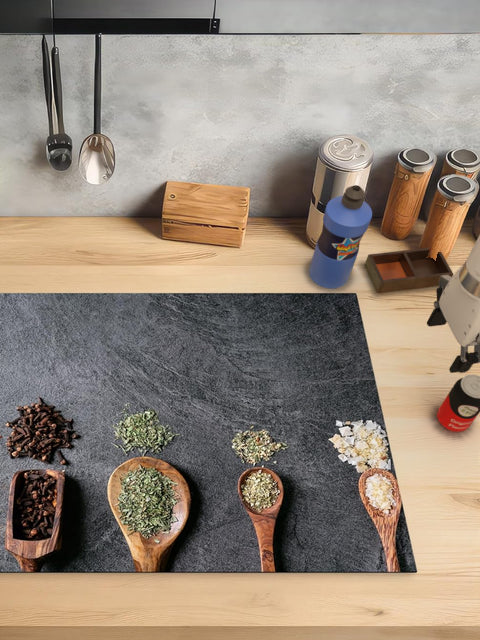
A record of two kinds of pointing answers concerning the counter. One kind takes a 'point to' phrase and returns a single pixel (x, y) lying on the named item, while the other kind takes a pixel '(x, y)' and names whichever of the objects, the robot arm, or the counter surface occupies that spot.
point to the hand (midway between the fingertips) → (446, 346)
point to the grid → (405, 270)
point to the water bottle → (340, 238)
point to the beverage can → (461, 404)
